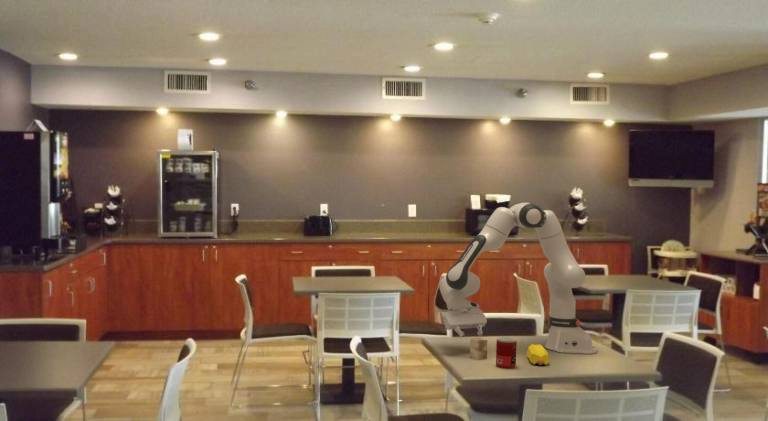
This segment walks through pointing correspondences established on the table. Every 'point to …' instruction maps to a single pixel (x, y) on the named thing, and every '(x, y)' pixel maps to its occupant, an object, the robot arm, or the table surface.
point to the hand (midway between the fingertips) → (471, 335)
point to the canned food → (506, 352)
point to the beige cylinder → (478, 348)
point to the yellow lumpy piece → (537, 355)
